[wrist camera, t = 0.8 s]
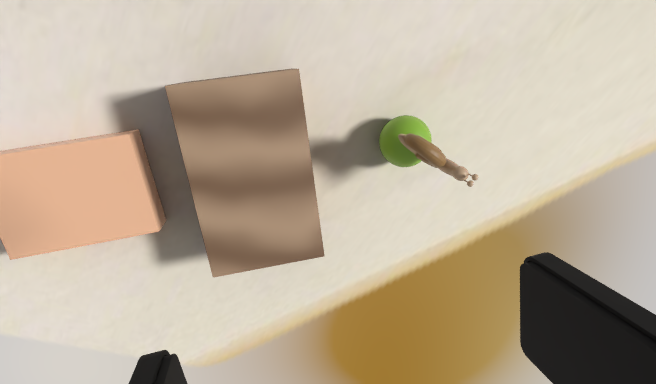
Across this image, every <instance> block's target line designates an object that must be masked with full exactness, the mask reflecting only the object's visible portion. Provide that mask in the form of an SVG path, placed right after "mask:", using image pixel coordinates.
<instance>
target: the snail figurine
mask: <svg viewBox="0 0 656 384" xmlns="http://www.w3.org/2000/svg"><path fill="white" fill-rule="evenodd" d="M379 145H380V150H381V152H382V154H383V156H384V157H385V159H386V160H387V161H389V162H390V163H392V164H393V165H396V166H399V167H410V166H414V165H416V164H418V163H420V162H421V161H423V162H425V163H427V164H429V165H431V166H433V167H436V168H439V169H440V170H441V171H443V172H445V173H447V174H449V175H451V176H453V177H454V178H455V179H457V180H459V181H463V180H464V181H466V179H467V178H468V175H470V174H469V173H468V171H467V169H466V168H464V167H462V166H458V165H457V164H456V163H454V162H453V161H451V160H449V159H446V157H445V155H444V154H443V153H442V152H441V150H440V149H439V148H438V147H436V146H435V145H434V144H432V143H431V134H430V131H429V129H428V127H427V126H426V124H425V123H424V122H423V121H421V120H420V119H418V118H416V117H413V116H407V115H405V116H399V117H396V118H394V119H392V120H390V121H389V122H388V123H387V124H386V125H385V126H384V128H383V129H382V131H381V134H380V138H379ZM470 176H472V179H473V180H477V179H478V175H476V174H474V175H470ZM466 182H467V181H466ZM473 184H474V182H473V181H468V182H467V185H468V186H469V187H471V186H473Z"/></svg>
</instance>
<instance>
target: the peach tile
mask: <svg viewBox="0 0 656 384" xmlns="http://www.w3.org/2000/svg"><path fill="white" fill-rule="evenodd" d="M165 221H166V218H165V214H164V211H163V208H162V204H161V201H160V198H159V195H158V191H157V188H156V185H155V181H154V178H153V175H152V172H151V168H150V165H149V162H148V158H147V155H146V152H145V149H144V145H143V142H142V139H141V135H140V132H139V129H138V130H131V131H125V132H119V133H112V134H106V135H100V136H93V137H87V138H81V139H74V140H68V141H62V142H55V143H49V144H43V145H36V146H30V147H24V148H17V149H11V150H5V151H0V238H1V241H2V243H3V245H4V247H5V249H6V251H7V253H8V255H9V258H10V260H12V259H17V258H23V257H28V256H33V255H38V254H44V253H49V252H54V251H59V250H65V249H70V248H75V247H80V246H86V245H91V244H96V243H101V242H107V241H112V240H117V239H122V238H128V237H133V236H138V235H143V234H149V233H154V232H159V231H160V229H161V228H162V226H163V225H164V223H165Z"/></svg>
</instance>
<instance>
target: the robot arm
mask: <svg viewBox="0 0 656 384" xmlns="http://www.w3.org/2000/svg"><path fill="white" fill-rule="evenodd" d="M520 334H521V335H520V339H521V340H520V342H521V347H522V350H523V352H524V353H525V355H526V356H527V357H528V358H529V359H530V361H531V362H532V363H533V364H534V365H535V366H537V368H538V369H539V370H540V371H541V372H542V373H543V374H544V375H545V376H546V377H547V378H548V379H549V380H550V381H551V382H552V383H553V384H656V315H655V314H653V313H651V312H650V311H648V310H646V309H645V308H643V307H641V306H639V305H638V304H636V303H634V302H633V301H631V300H629V299H627V298H626V297H624V296H622V295H621V294H619V293H617V292H615V291H614V290H612V289H610V288H609V287H607V286H605V285H604V284H602V283H600V282H598V281H597V280H595V279H593V278H591V277H590V276H588V275H587V274H585V273H583V272H581V271H580V270H578V269H576V268H575V267H573V266H571V265H570V264H568V263H566V262H564V261H563V260H561V259H559V258H558V257H556V256H554V255H553V254H551V253H541V254H538V255H534V256H530V257H527V258H526V259H525V260H524V264H522V265H521V266H520ZM129 384H187V381H186V379H185V377H184V373H183V370H182V367H181V365H180V362H179V359H178V357H177V355H176V354H171V355H170V354H169V352H168V351H167V350H162V351H159V352H155V353H151V354H147V355H143V356H141V357H140V359H139V360H138V363H137V365H136V368H135V370H134V372H133V375H132V377H131V380H130V382H129Z"/></svg>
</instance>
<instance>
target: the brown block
mask: <svg viewBox="0 0 656 384" xmlns="http://www.w3.org/2000/svg"><path fill="white" fill-rule="evenodd" d="M165 89H166V93H167V97H168V101H169V105H170V109H171V112H172V116H173V120H174V124H175V128H176V132H177V136H178V140H179V144H180V148H181V152H182V156H183V160H184V164H185V168H186V172H187V176H188V180H189V184H190V188H191V192H192V196H193V200H194V204H195V208H196V212H197V216H198V220H199V224H200V228H201V232H202V236H203V240H204V244H205V248H206V252H207V256H208V260H209V264H210V268H211V272H212V275H213V277H218V276H224V275H229V274H234V273H239V272H244V271H250V270H255V269H260V268H265V267H271V266H276V265H281V264H286V263H291V262H297V261H302V260H307V259H312V258H318V257H323V256H324V250H323V242H322V235H321V228H320V220H319V213H318V206H317V198H316V191H315V184H314V176H313V169H312V162H311V154H310V147H309V140H308V132H307V125H306V118H305V111H304V103H303V96H302V89H301V81H300V74H299V69H286V70H278V71H270V72H262V73H255V74H247V75H239V76H231V77H223V78H215V79H207V80H199V81H191V82H184V83H178V84H172V85H167V86H165Z"/></svg>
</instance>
